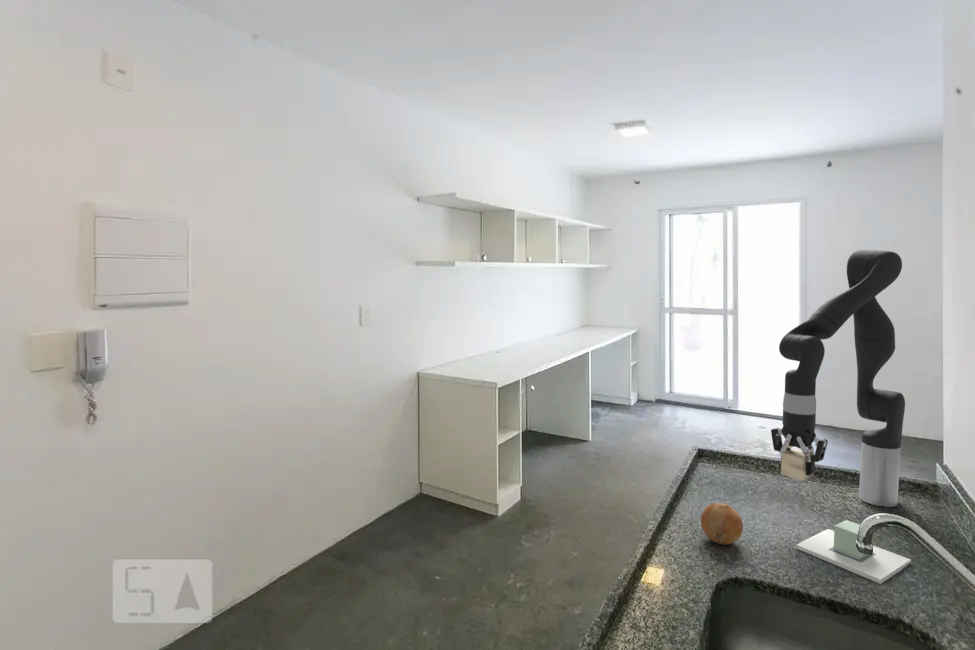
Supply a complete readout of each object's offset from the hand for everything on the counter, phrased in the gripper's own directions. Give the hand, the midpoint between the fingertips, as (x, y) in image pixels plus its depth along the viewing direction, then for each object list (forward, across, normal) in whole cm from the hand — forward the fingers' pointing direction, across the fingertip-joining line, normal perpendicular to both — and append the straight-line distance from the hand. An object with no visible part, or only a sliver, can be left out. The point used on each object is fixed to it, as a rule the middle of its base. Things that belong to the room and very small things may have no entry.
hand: (797, 471), depth 142 cm
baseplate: (+15, -16, +5) cm, 23 cm away
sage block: (+14, -16, +5) cm, 22 cm away
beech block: (+1, 0, 0) cm, 1 cm away
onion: (+15, +5, +25) cm, 30 cm away
